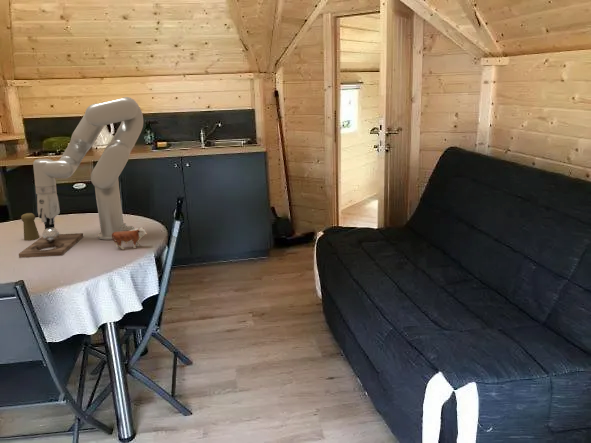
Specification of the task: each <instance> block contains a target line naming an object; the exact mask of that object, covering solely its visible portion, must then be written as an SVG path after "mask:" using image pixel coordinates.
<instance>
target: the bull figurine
mask: <svg viewBox="0 0 591 443" xmlns="http://www.w3.org/2000/svg"><path fill="white" fill-rule="evenodd" d="M146 235H148V233H147V232H146V229H145V228H144V227H140V228H138V227H136V228H134V230H130V231H121V232H114V233H113V234H112V239H111V240H113V241H114V242H113V243H114V244H115V246H116V248H118V249H120V250H122V251H123V250H126V248H125V247H124V246H123V245H122V242H124V243H125V244H128V242H133V244H132V245H133V247H132V248H133V249H137V247H141V244H139V241H140V240H141V239H142V238H143V237H144V236H146ZM113 237H114V238H113ZM136 246H137V247H136Z"/></svg>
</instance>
